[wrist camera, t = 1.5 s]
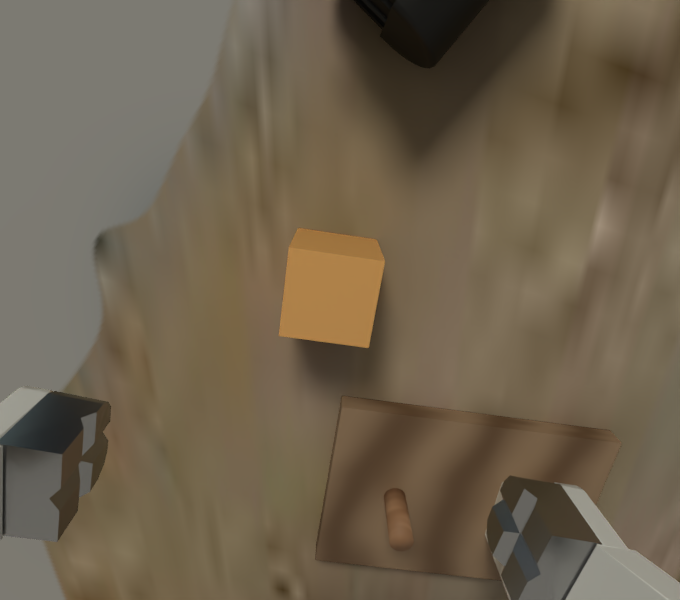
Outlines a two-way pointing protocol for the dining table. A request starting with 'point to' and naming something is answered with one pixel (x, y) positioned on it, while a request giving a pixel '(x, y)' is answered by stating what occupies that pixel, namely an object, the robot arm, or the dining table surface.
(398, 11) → the end cap
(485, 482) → the peg board
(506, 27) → the dining table surface
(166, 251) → the dining table surface
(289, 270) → the tan wooden cube
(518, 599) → the robot arm
